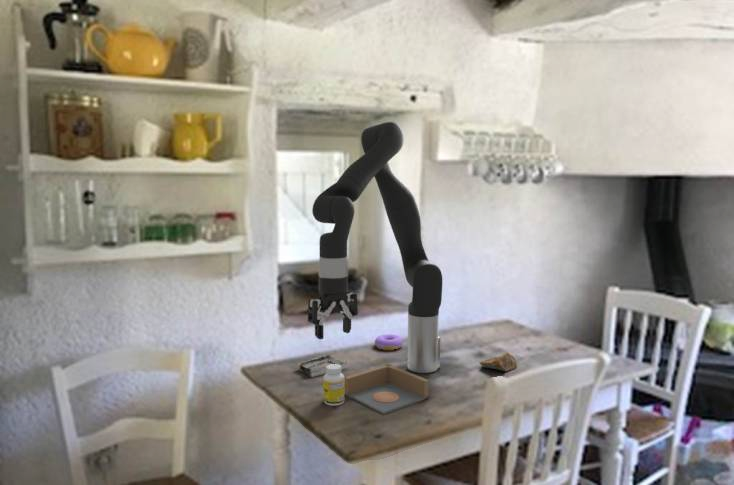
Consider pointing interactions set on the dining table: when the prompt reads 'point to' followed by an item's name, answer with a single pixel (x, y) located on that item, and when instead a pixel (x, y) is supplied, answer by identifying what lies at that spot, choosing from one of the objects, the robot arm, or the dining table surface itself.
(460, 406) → the dining table surface
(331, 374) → the supplement bottle
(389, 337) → the donut
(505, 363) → the decorative stone
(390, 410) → the corner arena
